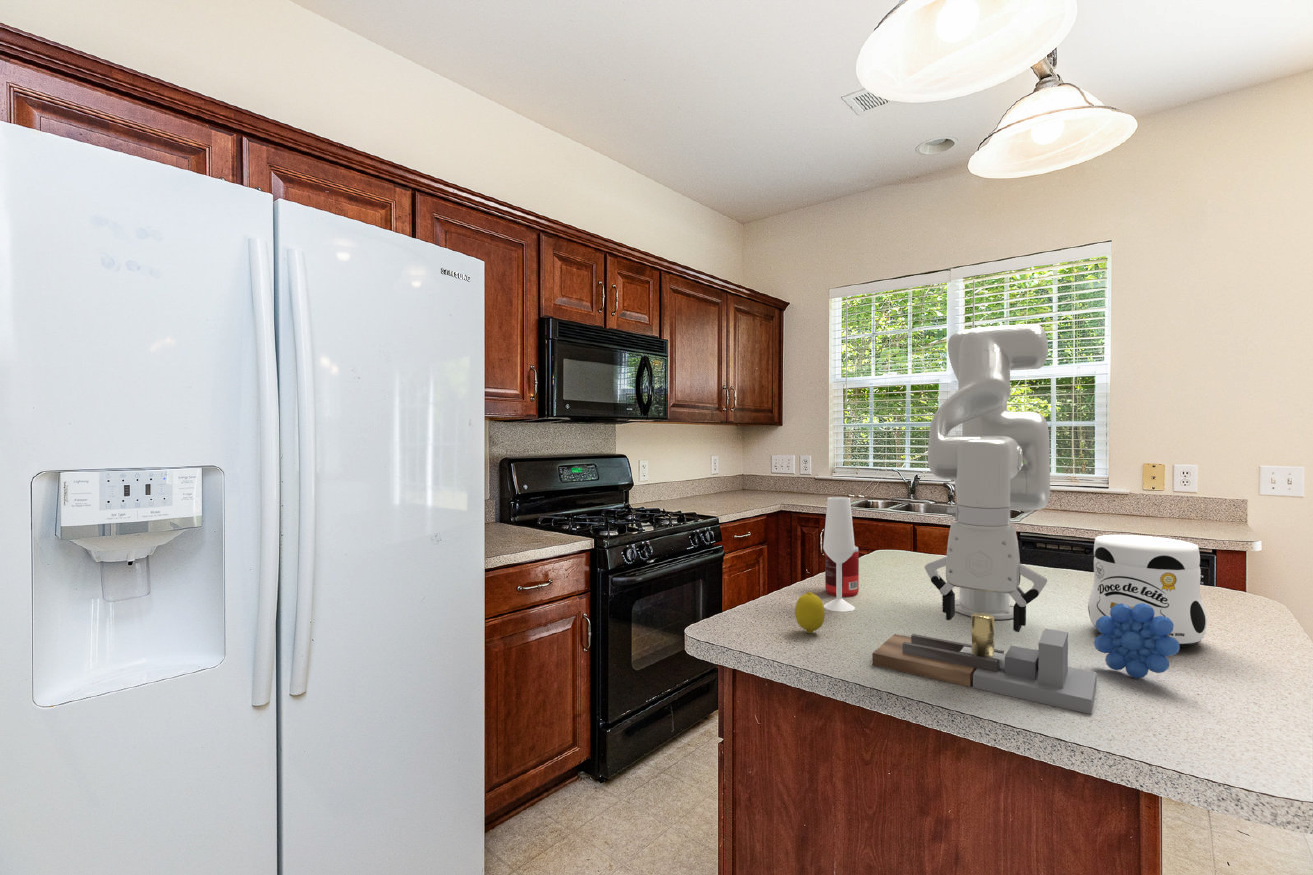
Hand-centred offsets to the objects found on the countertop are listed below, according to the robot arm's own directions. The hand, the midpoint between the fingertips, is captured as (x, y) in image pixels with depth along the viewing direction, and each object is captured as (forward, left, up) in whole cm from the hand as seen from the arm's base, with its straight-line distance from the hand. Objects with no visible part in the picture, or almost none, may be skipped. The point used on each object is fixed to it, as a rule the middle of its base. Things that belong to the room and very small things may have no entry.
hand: (982, 623), depth 100 cm
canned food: (-35, -36, -8) cm, 51 cm away
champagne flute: (-23, -32, -8) cm, 40 cm away
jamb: (0, +7, -8) cm, 11 cm away
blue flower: (-14, +20, -8) cm, 25 cm away
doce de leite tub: (-37, +21, -8) cm, 43 cm away
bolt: (0, +2, -6) cm, 6 cm away
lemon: (-3, -30, -8) cm, 32 cm away
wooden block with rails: (0, -6, -8) cm, 10 cm away
